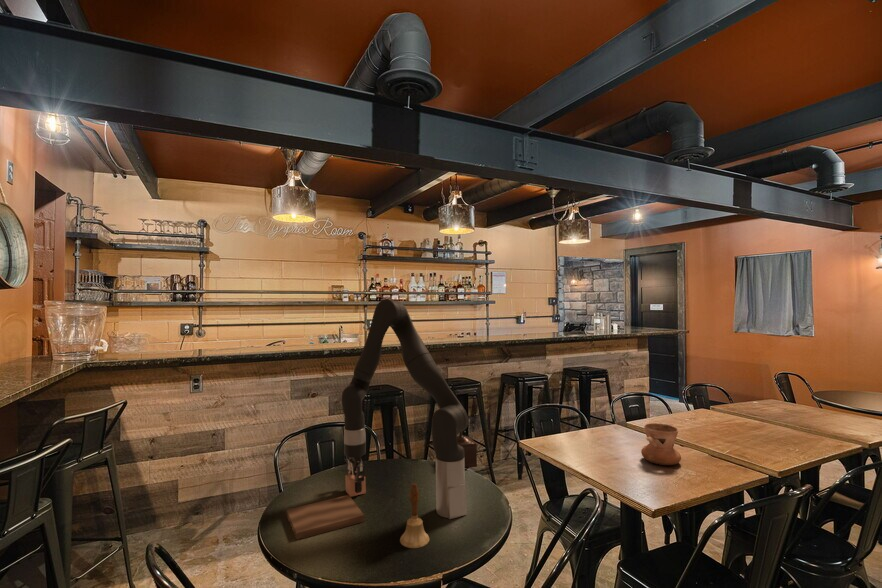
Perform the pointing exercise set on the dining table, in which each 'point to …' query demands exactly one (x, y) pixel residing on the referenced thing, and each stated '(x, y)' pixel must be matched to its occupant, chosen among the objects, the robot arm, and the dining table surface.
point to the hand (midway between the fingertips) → (355, 488)
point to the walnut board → (324, 516)
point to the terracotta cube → (351, 485)
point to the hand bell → (414, 524)
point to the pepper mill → (468, 450)
